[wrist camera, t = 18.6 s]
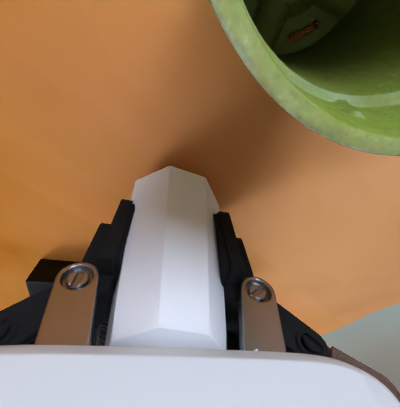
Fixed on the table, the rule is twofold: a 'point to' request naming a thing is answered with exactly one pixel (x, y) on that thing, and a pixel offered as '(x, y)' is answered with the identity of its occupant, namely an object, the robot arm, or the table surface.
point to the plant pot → (325, 64)
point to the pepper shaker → (170, 267)
